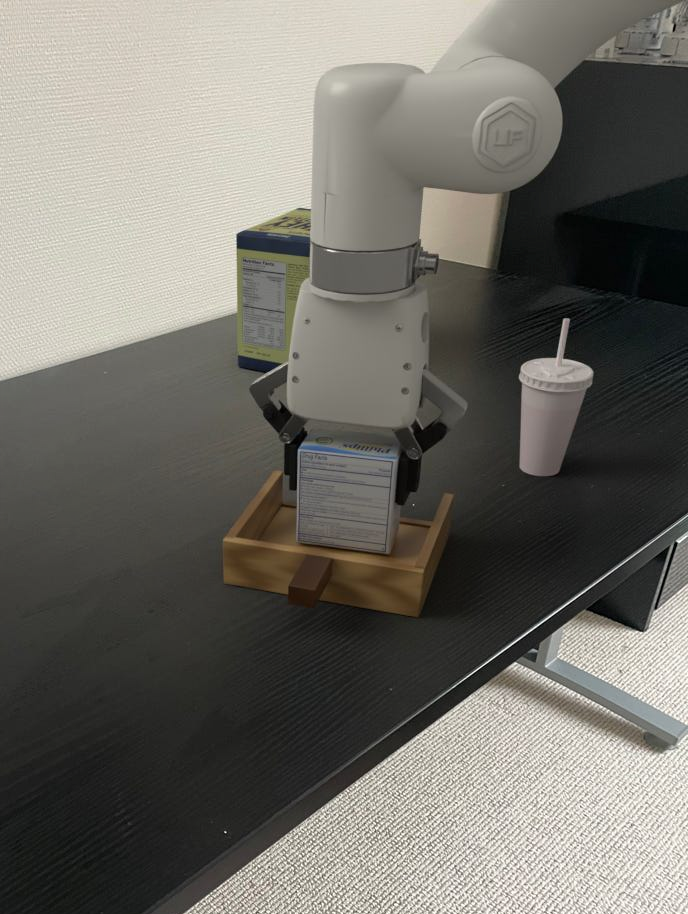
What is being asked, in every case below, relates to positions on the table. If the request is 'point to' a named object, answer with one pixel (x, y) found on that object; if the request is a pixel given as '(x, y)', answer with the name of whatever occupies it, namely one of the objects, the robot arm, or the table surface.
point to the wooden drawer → (332, 558)
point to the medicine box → (348, 490)
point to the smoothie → (550, 408)
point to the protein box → (270, 287)
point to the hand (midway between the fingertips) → (350, 489)
